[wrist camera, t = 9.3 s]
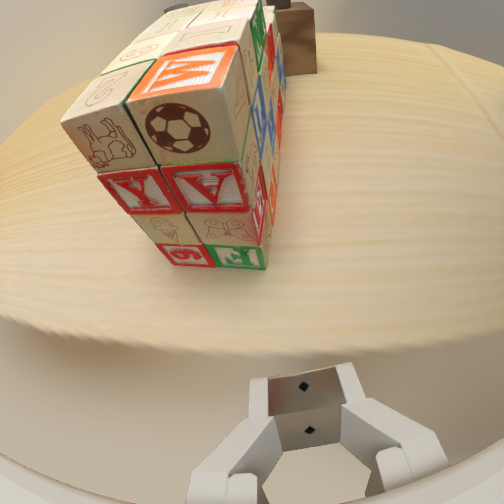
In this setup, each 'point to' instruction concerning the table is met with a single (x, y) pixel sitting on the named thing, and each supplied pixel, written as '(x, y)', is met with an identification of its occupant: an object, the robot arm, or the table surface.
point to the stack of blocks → (192, 132)
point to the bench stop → (292, 35)
